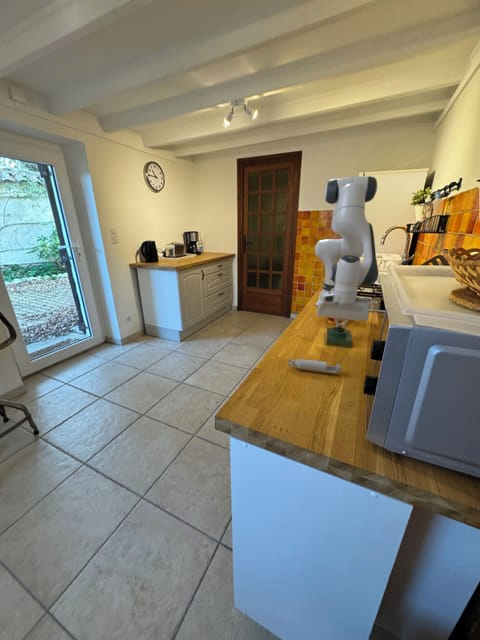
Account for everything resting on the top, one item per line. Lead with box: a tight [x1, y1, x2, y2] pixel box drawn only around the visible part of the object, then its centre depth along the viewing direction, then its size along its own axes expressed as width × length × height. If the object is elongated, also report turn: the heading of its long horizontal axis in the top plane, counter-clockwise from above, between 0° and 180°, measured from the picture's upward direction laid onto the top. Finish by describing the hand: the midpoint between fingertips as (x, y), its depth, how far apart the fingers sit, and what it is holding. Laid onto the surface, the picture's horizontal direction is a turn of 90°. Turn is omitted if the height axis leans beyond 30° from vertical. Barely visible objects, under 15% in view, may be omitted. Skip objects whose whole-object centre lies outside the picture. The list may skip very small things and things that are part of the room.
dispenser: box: [325, 326, 353, 348], centre depth 110 cm, size 12×10×5 cm
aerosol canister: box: [287, 358, 342, 375], centre depth 88 cm, size 18×5×6 cm, turn 75°
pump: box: [334, 326, 345, 332], centre depth 109 cm, size 4×4×2 cm
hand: (339, 327), depth 109 cm, fingers closed, pressing on pump
